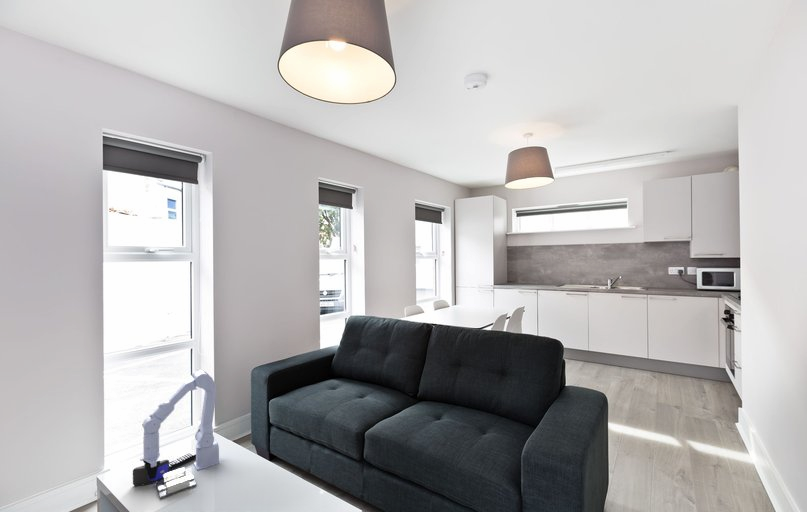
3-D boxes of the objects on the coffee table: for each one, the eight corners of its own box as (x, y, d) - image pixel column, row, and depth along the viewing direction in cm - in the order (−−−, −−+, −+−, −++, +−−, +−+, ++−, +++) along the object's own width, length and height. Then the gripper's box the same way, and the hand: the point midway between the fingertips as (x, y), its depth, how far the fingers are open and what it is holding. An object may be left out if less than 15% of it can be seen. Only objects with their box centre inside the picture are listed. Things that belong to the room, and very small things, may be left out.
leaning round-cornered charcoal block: (132, 489, 158) (132, 472, 157) (132, 485, 161) (132, 467, 160) (169, 478, 165) (169, 462, 165) (169, 474, 168) (168, 457, 168)
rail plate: (190, 475, 168) (190, 464, 168) (196, 487, 159) (196, 476, 159) (156, 486, 159) (156, 475, 159) (160, 500, 150) (160, 488, 150)
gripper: (138, 442, 166) (138, 472, 166) (142, 455, 155) (142, 487, 154) (157, 437, 170) (157, 466, 170) (162, 449, 159) (162, 481, 159)
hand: (151, 476), depth 163 cm, fingers open, 3 cm apart
